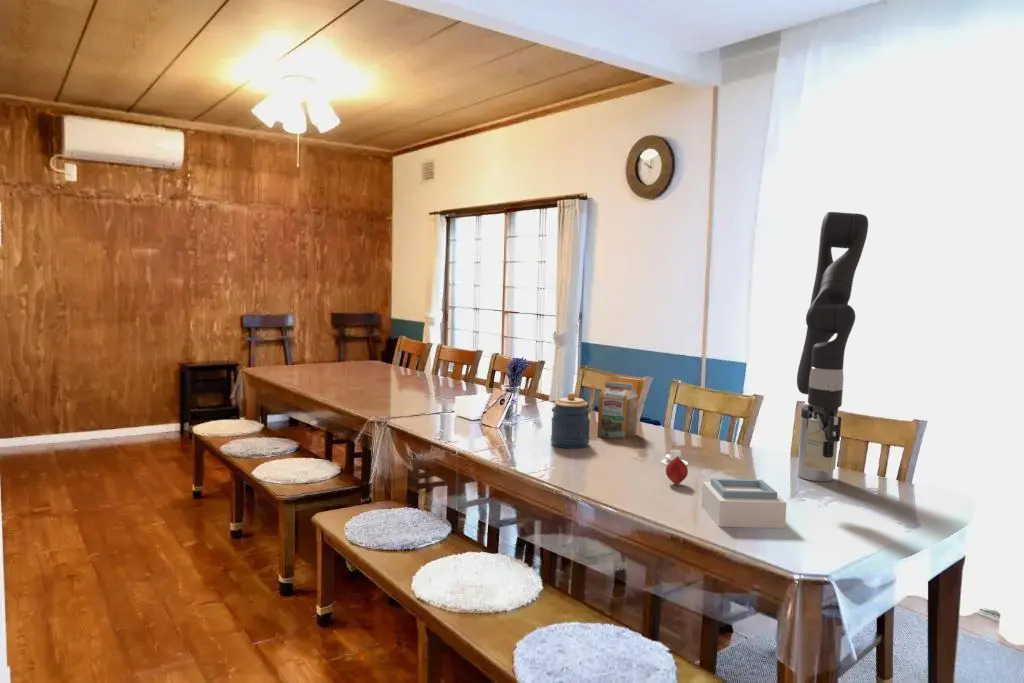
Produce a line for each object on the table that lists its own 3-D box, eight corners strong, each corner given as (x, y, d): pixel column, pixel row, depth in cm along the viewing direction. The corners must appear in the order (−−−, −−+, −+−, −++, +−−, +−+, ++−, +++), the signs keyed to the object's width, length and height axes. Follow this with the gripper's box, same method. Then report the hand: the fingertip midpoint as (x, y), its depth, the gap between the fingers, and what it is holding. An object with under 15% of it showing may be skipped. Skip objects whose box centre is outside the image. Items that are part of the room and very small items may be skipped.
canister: (594, 448, 229) (596, 395, 228) (557, 449, 226) (558, 396, 225) (581, 439, 242) (583, 389, 240) (546, 440, 239) (547, 390, 237)
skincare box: (803, 467, 171) (806, 418, 169) (810, 463, 174) (813, 416, 173) (830, 472, 166) (833, 423, 165) (836, 469, 170) (840, 420, 168)
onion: (661, 482, 192) (662, 454, 191) (678, 480, 194) (679, 452, 193) (673, 488, 186) (675, 459, 186) (691, 486, 188) (692, 457, 188)
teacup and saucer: (664, 458, 219) (665, 446, 219) (690, 461, 216) (690, 448, 216) (659, 465, 211) (659, 452, 211) (685, 468, 208) (686, 455, 208)
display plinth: (701, 505, 173) (703, 475, 172) (762, 506, 172) (763, 477, 172) (718, 526, 158) (720, 494, 157) (785, 528, 157) (786, 495, 157)
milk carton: (636, 434, 252) (638, 382, 250) (625, 439, 243) (627, 385, 241) (609, 430, 257) (610, 379, 255) (597, 435, 248) (599, 383, 246)
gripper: (798, 380, 175) (794, 444, 177) (822, 391, 161) (817, 460, 163) (828, 381, 175) (824, 445, 177) (855, 392, 161) (850, 461, 163)
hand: (821, 452), depth 170 cm, fingers closed on skincare box, 7 cm apart
